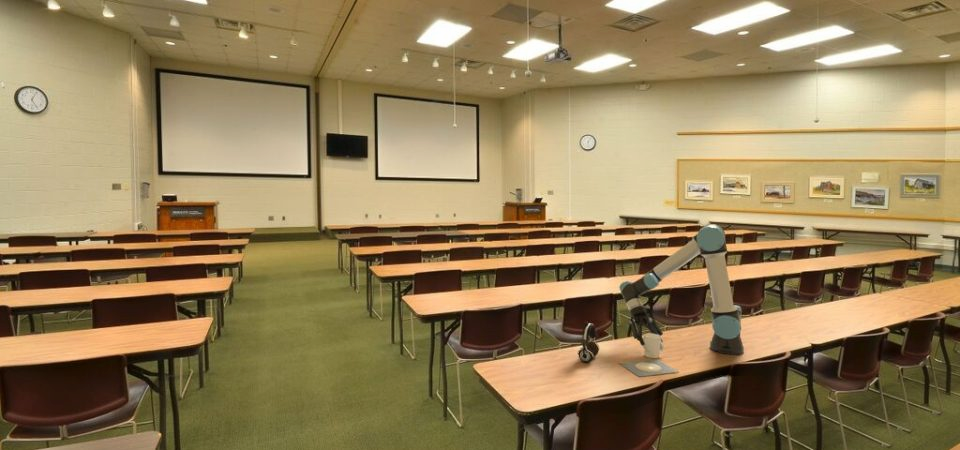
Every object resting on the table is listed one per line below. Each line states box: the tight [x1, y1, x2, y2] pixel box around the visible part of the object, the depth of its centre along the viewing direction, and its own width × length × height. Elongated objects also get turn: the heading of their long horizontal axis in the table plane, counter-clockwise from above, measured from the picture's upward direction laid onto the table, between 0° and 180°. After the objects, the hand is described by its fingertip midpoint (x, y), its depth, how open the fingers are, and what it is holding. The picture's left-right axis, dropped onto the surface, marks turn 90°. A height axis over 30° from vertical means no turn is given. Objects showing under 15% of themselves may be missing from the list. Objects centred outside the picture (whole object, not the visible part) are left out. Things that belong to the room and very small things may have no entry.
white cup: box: [643, 332, 662, 359], centre depth 223 cm, size 8×8×10 cm
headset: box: [577, 321, 600, 363], centre depth 218 cm, size 17×8×20 cm, turn 150°
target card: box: [618, 358, 679, 378], centre depth 208 cm, size 20×16×1 cm
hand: (655, 350), depth 221 cm, fingers closed on white cup, 8 cm apart
